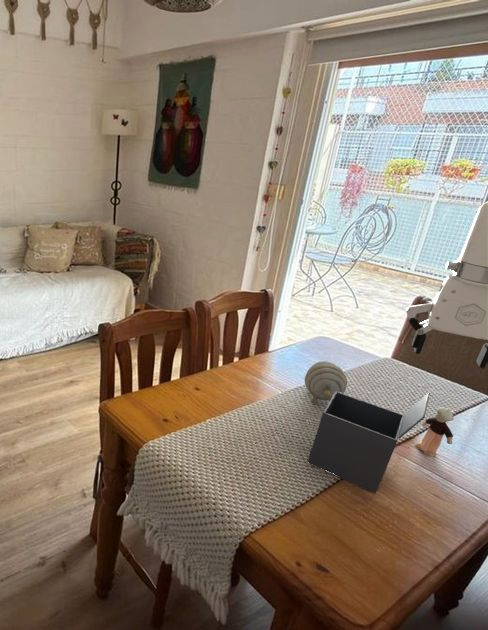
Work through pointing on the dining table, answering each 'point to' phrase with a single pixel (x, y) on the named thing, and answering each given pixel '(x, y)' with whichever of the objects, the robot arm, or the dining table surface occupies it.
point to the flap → (414, 415)
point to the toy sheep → (325, 380)
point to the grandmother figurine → (436, 432)
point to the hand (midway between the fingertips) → (447, 358)
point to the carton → (356, 440)
